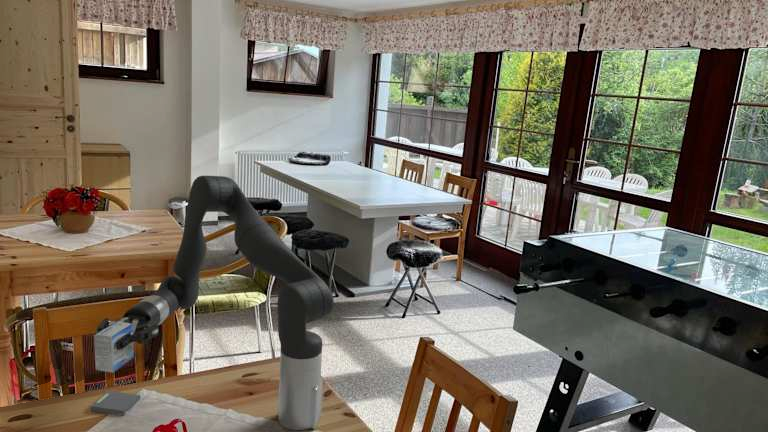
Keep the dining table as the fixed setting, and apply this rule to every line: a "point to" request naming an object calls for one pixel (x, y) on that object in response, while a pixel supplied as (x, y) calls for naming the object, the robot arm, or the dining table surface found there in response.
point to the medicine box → (112, 347)
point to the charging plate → (115, 402)
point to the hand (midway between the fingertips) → (107, 344)
